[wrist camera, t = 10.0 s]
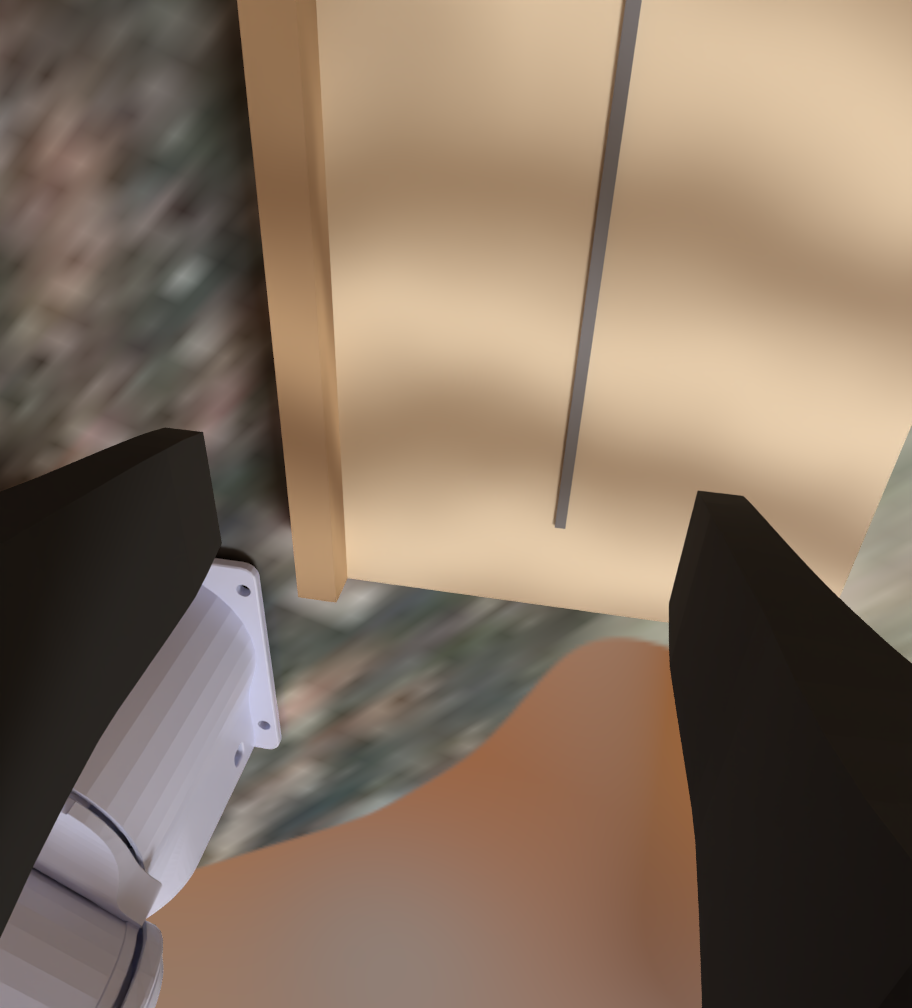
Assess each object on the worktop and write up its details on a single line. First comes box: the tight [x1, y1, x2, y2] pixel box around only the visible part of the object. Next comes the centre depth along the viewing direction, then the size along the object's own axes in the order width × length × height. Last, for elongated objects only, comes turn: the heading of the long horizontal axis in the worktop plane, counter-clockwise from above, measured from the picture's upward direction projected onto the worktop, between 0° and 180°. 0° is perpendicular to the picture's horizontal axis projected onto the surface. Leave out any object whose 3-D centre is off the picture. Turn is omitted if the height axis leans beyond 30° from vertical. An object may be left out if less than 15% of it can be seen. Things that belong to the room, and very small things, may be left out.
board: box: [237, 0, 912, 622], centre depth 17 cm, size 22×16×3 cm
